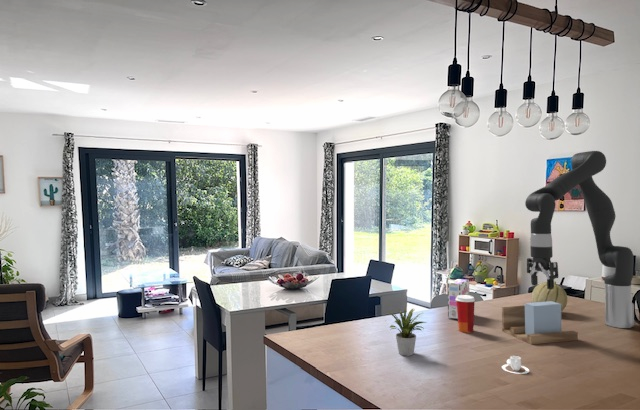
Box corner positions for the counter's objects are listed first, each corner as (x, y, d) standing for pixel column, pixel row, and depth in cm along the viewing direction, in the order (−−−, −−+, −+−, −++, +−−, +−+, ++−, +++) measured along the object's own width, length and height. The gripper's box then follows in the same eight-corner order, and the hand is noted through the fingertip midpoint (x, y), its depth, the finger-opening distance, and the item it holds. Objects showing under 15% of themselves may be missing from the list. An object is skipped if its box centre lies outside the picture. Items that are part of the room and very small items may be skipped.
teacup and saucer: (506, 363, 138) (506, 350, 138) (533, 368, 133) (532, 355, 133) (498, 371, 132) (497, 358, 132) (525, 377, 126) (525, 364, 126)
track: (502, 331, 171) (501, 306, 171) (545, 327, 175) (544, 303, 175) (531, 344, 155) (530, 317, 155) (577, 340, 159) (577, 313, 159)
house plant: (393, 363, 139) (392, 313, 139) (376, 349, 152) (376, 304, 152) (432, 358, 142) (431, 310, 142) (412, 345, 156) (411, 301, 156)
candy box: (460, 320, 188) (459, 283, 188) (447, 318, 191) (446, 282, 191) (470, 314, 199) (469, 279, 199) (458, 312, 202) (457, 278, 202)
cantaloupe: (524, 311, 202) (524, 280, 202) (549, 308, 207) (548, 277, 207) (550, 318, 188) (549, 285, 188) (575, 315, 193) (574, 283, 193)
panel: (552, 331, 166) (551, 301, 166) (561, 335, 161) (561, 304, 161) (525, 333, 164) (524, 303, 164) (534, 337, 159) (533, 306, 159)
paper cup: (473, 328, 176) (472, 294, 176) (478, 333, 168) (477, 298, 168) (454, 327, 177) (453, 294, 177) (458, 333, 169) (457, 298, 169)
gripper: (563, 246, 156) (564, 289, 156) (536, 243, 170) (537, 283, 170) (546, 247, 155) (547, 291, 155) (520, 244, 169) (521, 284, 169)
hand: (542, 287), depth 163 cm, fingers open, 8 cm apart
